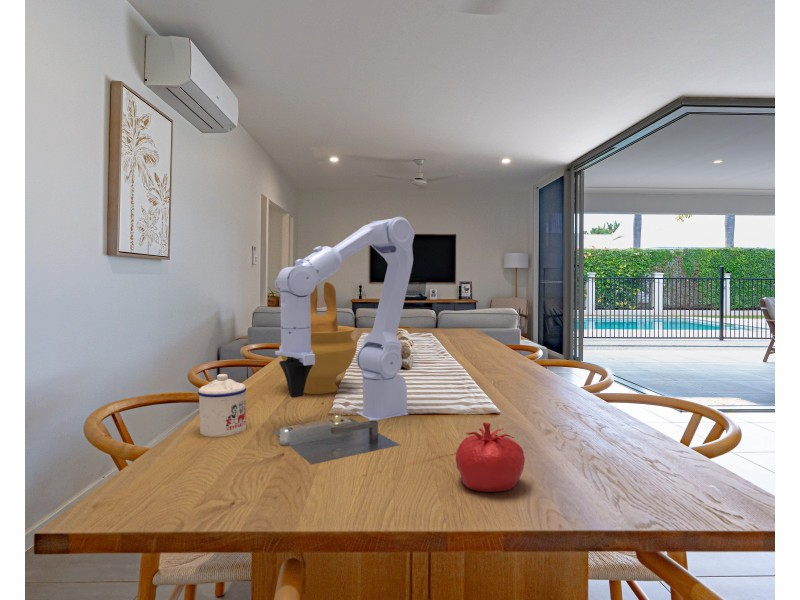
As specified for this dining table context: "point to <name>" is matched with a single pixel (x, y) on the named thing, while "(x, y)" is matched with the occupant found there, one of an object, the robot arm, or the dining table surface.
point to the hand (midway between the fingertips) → (296, 396)
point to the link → (312, 431)
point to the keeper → (358, 426)
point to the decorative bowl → (328, 345)
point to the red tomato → (489, 461)
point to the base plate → (340, 446)
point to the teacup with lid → (222, 407)
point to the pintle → (336, 418)
